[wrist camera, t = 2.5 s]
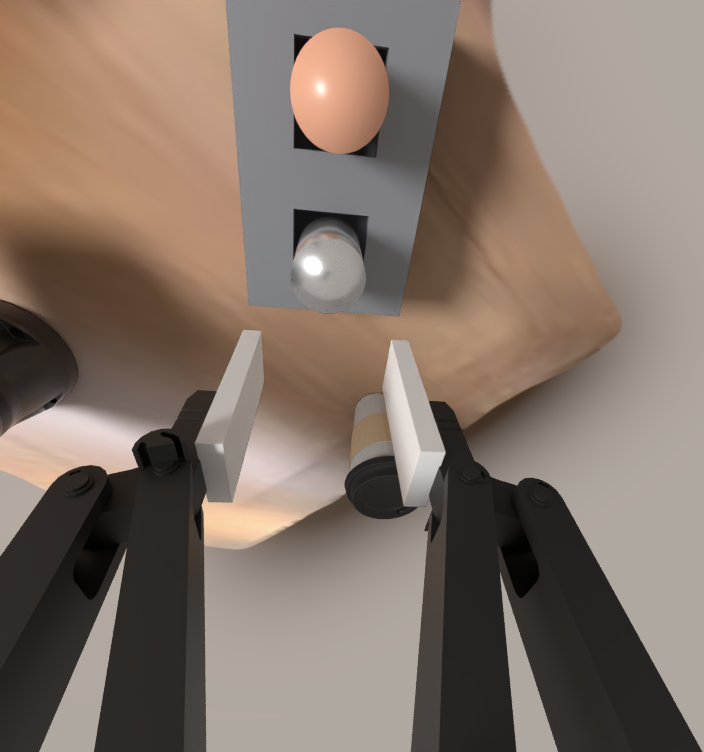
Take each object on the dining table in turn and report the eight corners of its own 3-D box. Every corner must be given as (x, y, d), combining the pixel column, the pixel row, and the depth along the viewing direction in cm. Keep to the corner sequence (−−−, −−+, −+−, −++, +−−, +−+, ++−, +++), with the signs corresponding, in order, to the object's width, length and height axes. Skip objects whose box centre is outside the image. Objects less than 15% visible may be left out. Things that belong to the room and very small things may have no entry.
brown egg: (370, 150, 26) (381, 158, 20) (299, 142, 26) (290, 148, 20) (381, 56, 23) (396, 35, 17) (300, 45, 23) (289, 20, 17)
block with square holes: (388, 284, 40) (399, 316, 34) (262, 274, 39) (248, 305, 32) (431, 28, 28) (461, 1, 21) (249, 1, 27) (222, -37, 20)
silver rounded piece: (356, 281, 32) (361, 316, 26) (298, 276, 31) (290, 310, 26) (363, 219, 29) (370, 244, 23) (299, 213, 28) (290, 236, 23)
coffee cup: (390, 437, 55) (407, 528, 42) (333, 423, 52) (333, 514, 40) (419, 392, 50) (447, 481, 37) (357, 374, 47) (365, 462, 35)
